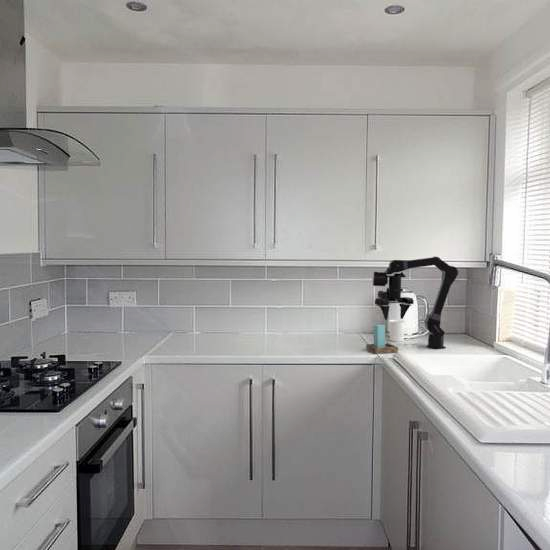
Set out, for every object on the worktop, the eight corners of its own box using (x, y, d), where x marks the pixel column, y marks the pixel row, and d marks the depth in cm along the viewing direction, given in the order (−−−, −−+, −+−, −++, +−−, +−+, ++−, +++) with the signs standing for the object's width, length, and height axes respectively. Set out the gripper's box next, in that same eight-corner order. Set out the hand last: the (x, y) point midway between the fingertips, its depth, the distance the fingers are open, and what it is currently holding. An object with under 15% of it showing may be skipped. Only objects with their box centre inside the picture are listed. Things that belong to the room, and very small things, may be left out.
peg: (380, 350, 240) (381, 324, 239) (384, 352, 236) (385, 325, 235) (373, 350, 239) (373, 324, 238) (377, 352, 235) (377, 326, 234)
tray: (387, 348, 244) (387, 343, 244) (397, 352, 234) (398, 347, 234) (366, 349, 241) (366, 344, 241) (375, 354, 231) (375, 348, 231)
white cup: (404, 339, 265) (405, 320, 265) (404, 342, 258) (404, 322, 257) (389, 338, 267) (389, 319, 267) (388, 341, 260) (388, 321, 259)
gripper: (399, 284, 256) (398, 315, 257) (368, 285, 248) (367, 317, 249) (414, 286, 246) (413, 319, 247) (382, 287, 238) (381, 321, 239)
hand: (393, 319), depth 246 cm, fingers open, 9 cm apart
